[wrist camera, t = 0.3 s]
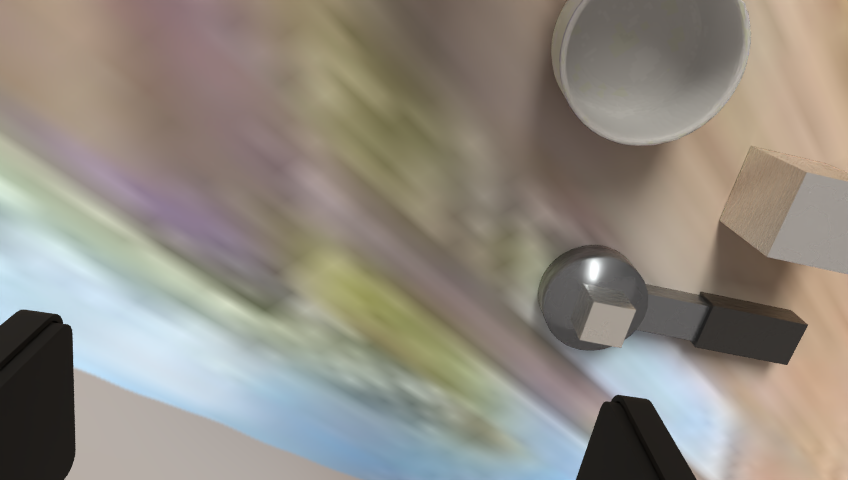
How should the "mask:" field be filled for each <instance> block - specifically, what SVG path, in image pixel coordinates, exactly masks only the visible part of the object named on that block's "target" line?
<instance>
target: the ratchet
mask: <svg viewBox="0 0 848 480" xmlns="http://www.w3.org/2000/svg"><path fill="white" fill-rule="evenodd" d="M538 299H539V305H540V307H541V310H542V313H543V315H544V318H545V320H546V323H547V325H548V327H549V329H550V331H551V332H552V333H553V335H554V336H555V337H556V338H557V339H558V340H560V341H561V342H562V343H564V344H566V345H568V346H570V347H573V348H576V349H580V350H600V349H605V348H609V347H612V346H614V347H619V348H621V347H622V344H623V342H624V340H625V339H626V338H628V337H629V336H630V335H631V334H632V333H633V332H635V330H640V331H645V332H650V333H655V334H660V335H665V336H670V337H675V338H681V339H686V340H690V341H691V342H692V344H693V345H694V346H695V347H697V348H702V349H708V350H713V351H718V352H723V353H728V354H733V355H738V356H743V357H749V358H754V359H759V360H764V361H769V362H774V363H779V364H784V365H787V364H788V362H789V361H790V359H791V357H792V355H793V353H794V351H795V349H796V347H797V345H798V343H799V341H800V339H801V337H802V336H803V334H804V332H805V330H806V328H807V326H808V324H806V323H805V322H804V321H803V320H802V319H801V318H799V317H798V316H797V315H796V314H795V313H794V312H792V311H791V310H787V309H782V308H777V307H772V306H767V305H763V304H758V303H753V302H748V301H743V300H738V299H733V298H728V297H724V296H719V295H714V294H709V293H704V292H700V295H697V294H692V293H687V292H682V291H677V290H672V289H667V288H662V287H658V286H653V285H648V284H645V282H644V280H643V279H642V277H641V275H640V274H639V273H638V272H637V270H636V269H635V268H634V267H633V265H632V264H631V263H630V262H629V260H628V259H627V258H626V257H625V256H623V255H622V254H621V253H619V252H618V251H616V250H614V249H611V248H608V247H605V246H598V245H589V246H582V247H578V248H575V249H572V250H570V251H568V252H565V253H564V254H562V255H561V256H559V257H558V258H557V259H555V260H554V261H553V262H552V263H551V264H550V265H549V267H548V268H547V269H546V271H545V273H544V274H543V276H542V279H541V281H540V285H539V291H538Z"/></svg>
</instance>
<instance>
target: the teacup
mask: <svg viewBox="0 0 848 480" xmlns="http://www.w3.org/2000/svg"><path fill="white" fill-rule="evenodd" d="M750 44H751V31H750V21H749V14H748V11H747V9H746V5H745V3H744V2H743V1H742V0H568V1H567V2H566V3H565V5H564V7H563V9H562V11H561V12H560V14H559V17H558V19H557V22H556V25H555V28H554V32H553V37H552V44H551V58H552V66H553V71H554V75H555V78H556V81H557V83H558V85H559V87H560V89H561V91H562V93H563V95H564V96H565V98H566V100H567V102H568V104H569V106H570V107H571V109H572V110H573V112H574V113H575V115H576V116H577V117H578V118H579V119H580V121H581V122H582V123H583V124H584V125H585V126H587V127H588V128H589V129H590V130H591V131H593V132H594V133H596V134H598V135H600V136H602V137H603V138H605V139H607V140H610V141H613V142H616V143H619V144H624V145H633V146H646V145H657V144H662V143H666V142H670V141H674V140H677V139H680V138H681V137H683V136H686V135H688V134H690V133H692V132H693V131H695V130H697V129H698V128H700V127H701V126H703V125H704V124H705V123H707V122H708V121H709V120H710V119H712V118H713V117H714V116H715V115H716V114H717V113H718V112H719V111H720V110H721V109H722V108H723V106H724V105H725V104H726V103H727V101H728V100H729V99H730V97H731V96H732V94H733V93H734V91H735V89H736V87H737V86H738V84H739V82H740V80H741V78H742V75H743V73H744V70H745V67H746V64H747V60H748V56H749V50H750Z"/></svg>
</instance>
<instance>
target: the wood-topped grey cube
mask: <svg viewBox="0 0 848 480" xmlns="http://www.w3.org/2000/svg"><path fill="white" fill-rule="evenodd" d="M719 221H721V222H722V223H723V224H725V225H726V226H727V227H728V228H730V229H731V230H732V231H734V232H735V233H736V234H738V235H739V236H740V237H742V238H743V239H744V240H745V241H747V242H748V243H749V244H751V245H752V246H753V247H755V248H756V249H757V250H759V251H760V252H761V253H762V254H764V255H765V256H766V257H769V258H774V259H779V260H783V261H788V262H793V263H797V264H802V265H807V266H812V267H816V268H821V269H826V270H830V271H835V272H840V273H844V274H848V173H847V172H845V171H842V170H840V169H838V168H836V167H833V166H831V165H829V164H826V163H823V162H818V161H814V160H810V159H806V158H801V157H797V156H793V155H788V154H784V153H780V152H776V151H771V150H767V149H763V148H758V147H754V146H751V148H750V150H749V153H748V155H747V157H746V160H745V162H744V164H743V167H742V169H741V171H740V173H739V176H738V178H737V180H736V183H735V185H734V187H733V190H732V192H731V194H730V197H729V199H728V201H727V204H726V206H725V208H724V211H723V213H722V215H721V218H720V220H719Z"/></svg>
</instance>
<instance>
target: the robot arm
mask: <svg viewBox="0 0 848 480" xmlns="http://www.w3.org/2000/svg"><path fill="white" fill-rule="evenodd" d="M73 377H74V376H73V337H72V329H71V326H69V325H67V324H63V320H62V318H61V316H59V315H58V314H51V313H45V312H38V311H31V310H20V311H18V312H16V313H15V314H14V315H12V316H11V317H10V318H9V319H8V320H6V321H5V322H4V323H3V324H2V325H0V480H64V479H65V477H66V476H67V475H68V473H69V471H70V469H71V467H72V464H73V461H74V457H75V415H74V378H73ZM576 480H696V478H695V476H694V474H693V473H692V471H691V469H690V468H689V466H688V464H687V462H686V461H685V459H684V457H683V456H682V454H681V452H680V450H679V449H678V447H677V445H676V444H675V442H674V440H673V439H672V437H671V435H670V433H669V432H668V430H667V428H666V427H665V425H664V423H663V421H662V420H661V418H660V416H659V415H658V413H657V411H656V409H655V408H654V406H653V404H652V403H651V402H650V401H649V400H647V399H643V398H636V397H629V396H622V395H616V396H615V397H614V398H613V399H612V401H611V402H607V401H606V402H604V403H603V404H602V406H601V408H600V411H599V414H598V417H597V420H596V423H595V426H594V429H593V432H592V435H591V437H590V440H589V443H588V446H587V449H586V452H585V455H584V458H583V461H582V464H581V467H580V469H579V472H578V475H577V478H576Z"/></svg>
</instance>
